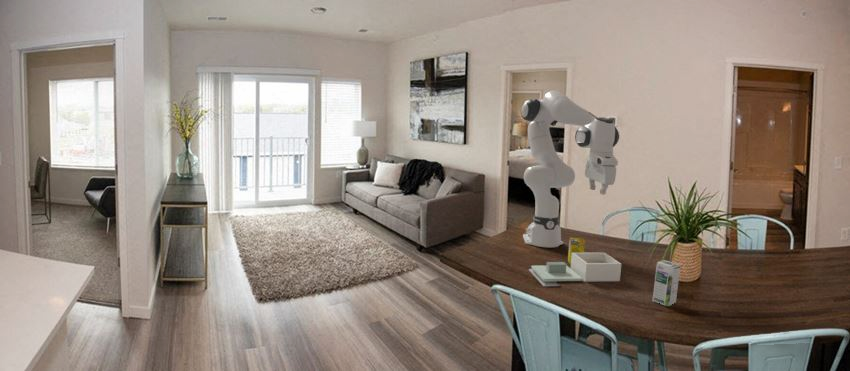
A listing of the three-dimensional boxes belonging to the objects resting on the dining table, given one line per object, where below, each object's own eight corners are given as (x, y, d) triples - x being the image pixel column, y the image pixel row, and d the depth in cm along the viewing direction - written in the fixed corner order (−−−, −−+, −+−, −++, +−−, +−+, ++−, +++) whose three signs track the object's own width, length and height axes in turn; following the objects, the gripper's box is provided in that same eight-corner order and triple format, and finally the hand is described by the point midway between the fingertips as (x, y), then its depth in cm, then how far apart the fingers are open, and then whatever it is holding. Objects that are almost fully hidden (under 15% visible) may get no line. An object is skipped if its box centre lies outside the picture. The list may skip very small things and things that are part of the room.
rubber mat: (528, 269, 198) (528, 269, 197) (565, 269, 199) (566, 268, 199) (543, 286, 180) (543, 285, 180) (584, 285, 182) (584, 284, 182)
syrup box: (651, 301, 169) (656, 261, 166) (660, 297, 172) (665, 259, 170) (667, 307, 164) (672, 266, 162) (676, 303, 168) (681, 263, 165)
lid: (531, 270, 196) (531, 257, 195) (566, 269, 198) (567, 257, 197) (543, 283, 181) (544, 269, 180) (581, 283, 183) (582, 269, 182)
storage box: (570, 271, 197) (571, 252, 196) (602, 271, 199) (604, 252, 197) (584, 283, 184) (586, 263, 182) (619, 283, 185) (621, 263, 184)
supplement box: (583, 266, 203) (585, 242, 202) (568, 265, 205) (570, 240, 203) (581, 262, 209) (583, 238, 207) (567, 261, 210) (569, 237, 208)
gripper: (582, 155, 204) (579, 186, 206) (604, 161, 184) (601, 196, 186) (597, 155, 205) (593, 187, 207) (620, 161, 184) (616, 197, 187)
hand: (597, 191), depth 197 cm, fingers open, 8 cm apart
